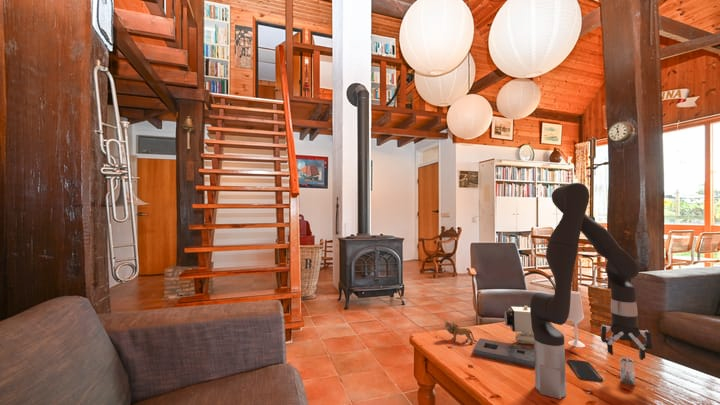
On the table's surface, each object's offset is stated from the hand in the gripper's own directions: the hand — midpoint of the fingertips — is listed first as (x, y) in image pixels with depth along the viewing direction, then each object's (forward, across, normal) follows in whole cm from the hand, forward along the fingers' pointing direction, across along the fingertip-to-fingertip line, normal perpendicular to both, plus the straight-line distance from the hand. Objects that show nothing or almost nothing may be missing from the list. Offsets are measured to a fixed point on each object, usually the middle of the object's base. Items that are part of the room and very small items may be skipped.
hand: (626, 356), depth 116 cm
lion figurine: (+9, -62, +7) cm, 63 cm away
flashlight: (+9, 0, -1) cm, 9 cm away
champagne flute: (+9, -14, +29) cm, 34 cm away
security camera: (+9, -34, +20) cm, 40 cm away
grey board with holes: (+8, -41, +2) cm, 42 cm away
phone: (+9, -13, +1) cm, 16 cm away
